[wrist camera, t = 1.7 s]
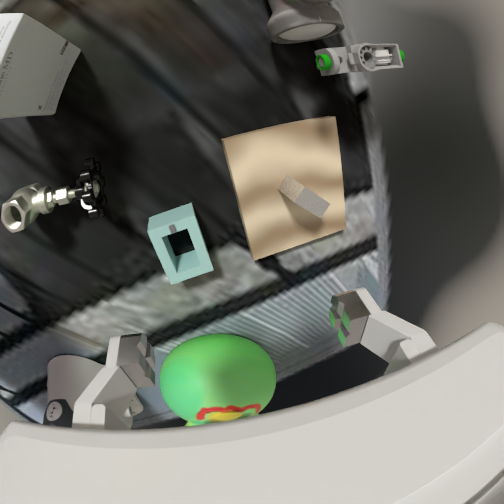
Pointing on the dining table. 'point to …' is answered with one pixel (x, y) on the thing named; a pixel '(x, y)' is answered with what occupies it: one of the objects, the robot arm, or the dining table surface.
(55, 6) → the dining table surface
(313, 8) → the pipe fitting
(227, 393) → the toy bird
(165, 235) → the teal collar
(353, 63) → the mechanical component
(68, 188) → the valve
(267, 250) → the oak plate
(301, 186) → the steel key shaft
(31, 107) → the skincare box
